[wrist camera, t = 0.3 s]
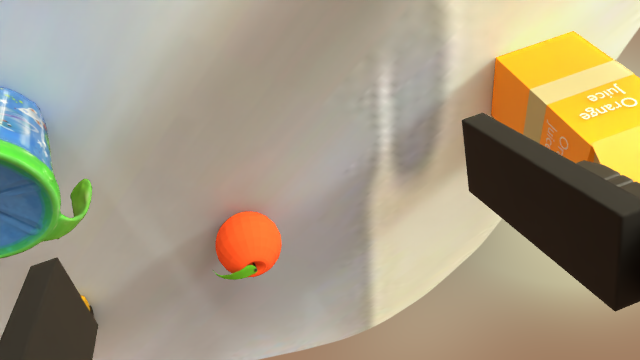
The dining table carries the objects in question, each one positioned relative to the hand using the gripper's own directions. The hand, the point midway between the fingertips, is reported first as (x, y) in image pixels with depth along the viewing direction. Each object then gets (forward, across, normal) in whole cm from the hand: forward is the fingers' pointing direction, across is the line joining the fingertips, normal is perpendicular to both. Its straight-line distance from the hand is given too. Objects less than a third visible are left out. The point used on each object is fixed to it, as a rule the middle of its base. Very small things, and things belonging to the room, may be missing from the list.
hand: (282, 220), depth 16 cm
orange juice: (+32, +31, -12) cm, 46 cm away
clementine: (+36, -3, -20) cm, 41 cm away
